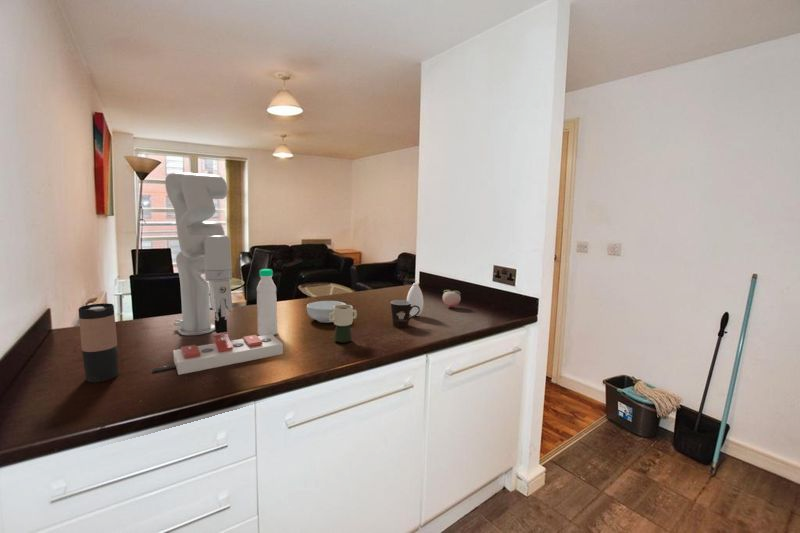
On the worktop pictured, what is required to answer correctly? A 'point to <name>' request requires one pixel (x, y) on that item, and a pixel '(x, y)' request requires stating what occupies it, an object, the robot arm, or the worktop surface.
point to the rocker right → (252, 340)
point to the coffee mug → (401, 313)
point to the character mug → (342, 321)
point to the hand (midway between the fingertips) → (221, 331)
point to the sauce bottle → (415, 299)
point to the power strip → (224, 355)
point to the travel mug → (99, 341)
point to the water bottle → (266, 303)
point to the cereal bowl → (322, 310)
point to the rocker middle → (223, 343)
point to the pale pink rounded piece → (451, 298)
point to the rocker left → (190, 351)
